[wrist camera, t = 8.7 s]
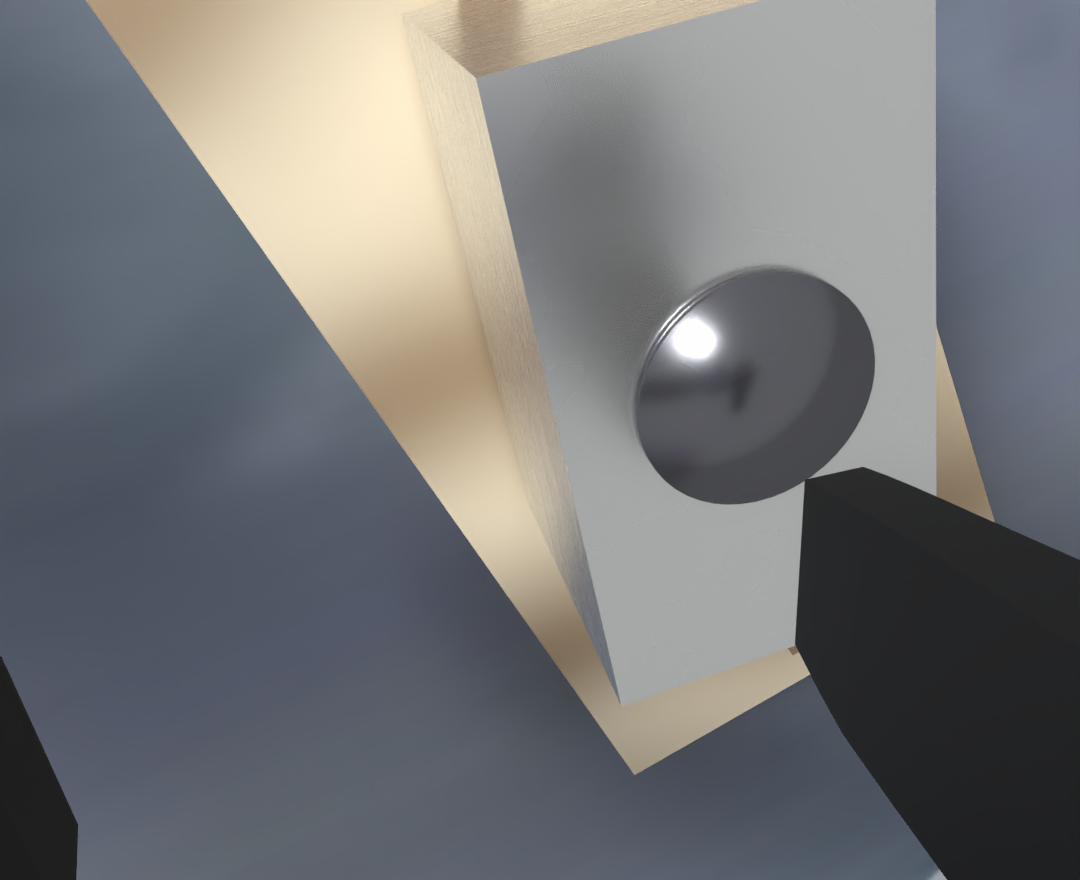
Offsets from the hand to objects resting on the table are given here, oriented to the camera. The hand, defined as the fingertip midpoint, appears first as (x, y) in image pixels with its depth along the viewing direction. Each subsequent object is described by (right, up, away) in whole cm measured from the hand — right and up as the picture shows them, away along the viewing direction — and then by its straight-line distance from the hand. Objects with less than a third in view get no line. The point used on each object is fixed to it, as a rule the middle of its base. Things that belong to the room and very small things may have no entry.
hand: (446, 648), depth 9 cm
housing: (+2, +5, +6) cm, 8 cm away
